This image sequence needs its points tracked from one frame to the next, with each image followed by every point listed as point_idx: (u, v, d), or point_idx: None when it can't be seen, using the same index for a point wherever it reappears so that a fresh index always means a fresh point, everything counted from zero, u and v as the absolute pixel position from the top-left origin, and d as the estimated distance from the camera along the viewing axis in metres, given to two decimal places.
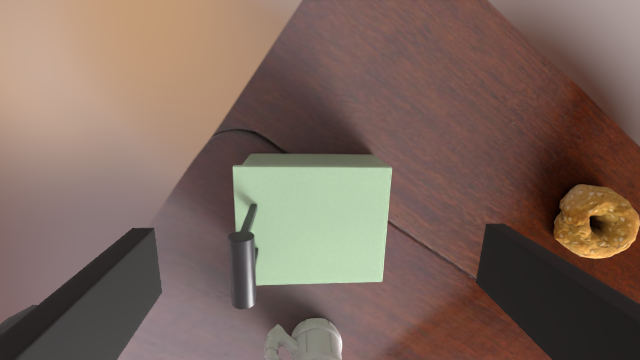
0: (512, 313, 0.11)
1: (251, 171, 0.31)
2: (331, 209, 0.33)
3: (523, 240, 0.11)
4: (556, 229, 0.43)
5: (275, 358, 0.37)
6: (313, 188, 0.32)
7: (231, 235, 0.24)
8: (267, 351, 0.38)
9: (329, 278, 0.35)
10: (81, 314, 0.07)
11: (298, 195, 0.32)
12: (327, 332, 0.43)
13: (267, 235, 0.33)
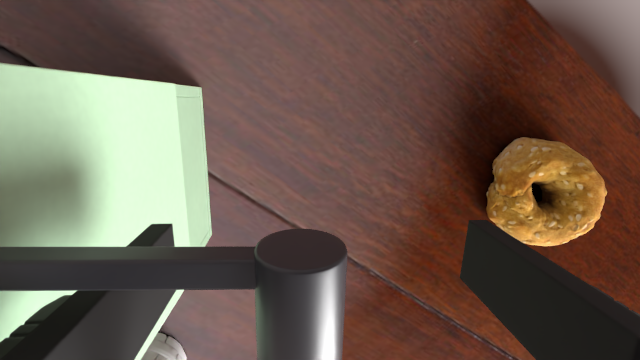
0: (492, 306, 0.11)
1: None
2: (130, 182, 0.14)
3: (503, 235, 0.11)
4: (488, 204, 0.30)
5: None
6: (93, 135, 0.12)
7: (294, 265, 0.06)
8: None
9: (151, 331, 0.16)
10: (112, 303, 0.08)
11: (66, 162, 0.10)
12: (153, 355, 0.29)
13: None
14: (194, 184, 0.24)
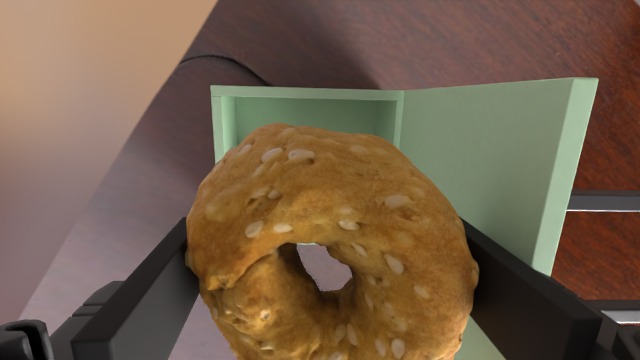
0: None
1: None
2: None
3: (469, 229, 0.12)
4: None
5: None
6: None
7: None
8: None
9: None
10: (161, 287, 0.08)
11: None
12: None
13: None
14: None
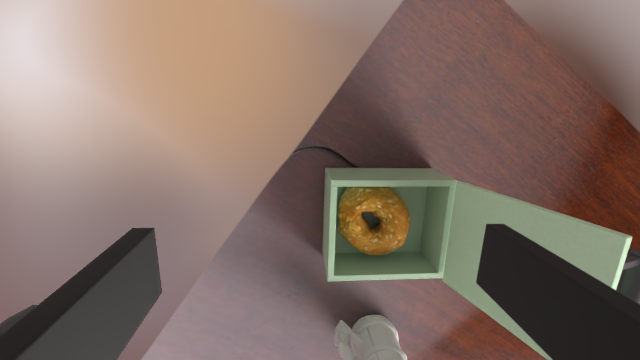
0: (512, 313, 0.11)
1: None
2: None
3: (523, 240, 0.11)
4: (339, 226, 0.43)
5: (348, 349, 0.42)
6: None
7: None
8: (340, 343, 0.43)
9: None
10: (81, 314, 0.07)
11: None
12: (387, 327, 0.47)
13: None
14: None
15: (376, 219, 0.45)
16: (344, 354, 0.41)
